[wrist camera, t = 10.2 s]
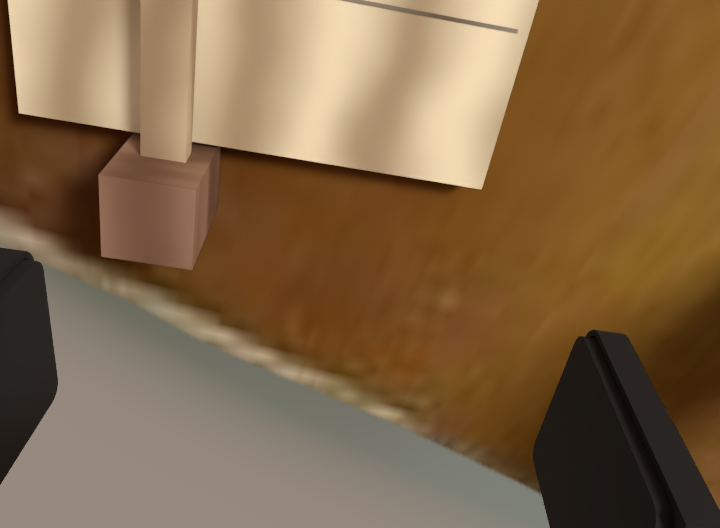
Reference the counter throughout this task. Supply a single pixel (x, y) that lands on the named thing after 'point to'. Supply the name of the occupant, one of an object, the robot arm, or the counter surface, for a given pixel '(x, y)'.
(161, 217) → the brown handled block
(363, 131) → the board
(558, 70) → the counter surface
